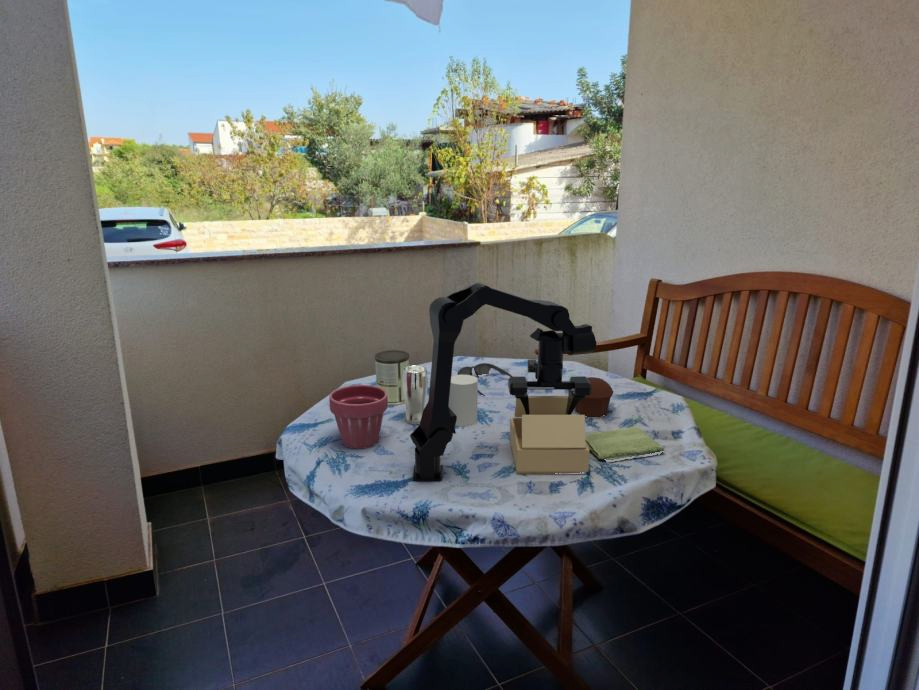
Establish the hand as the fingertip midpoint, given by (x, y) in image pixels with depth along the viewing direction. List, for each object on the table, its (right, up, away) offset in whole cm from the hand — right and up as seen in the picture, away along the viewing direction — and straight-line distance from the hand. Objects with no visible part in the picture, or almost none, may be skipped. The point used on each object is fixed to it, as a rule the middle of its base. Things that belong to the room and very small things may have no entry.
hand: (547, 419), depth 131 cm
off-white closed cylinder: (-20, -3, +22) cm, 30 cm away
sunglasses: (-12, +4, +50) cm, 51 cm away
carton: (0, -9, +2) cm, 9 cm away
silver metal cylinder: (-33, -3, +22) cm, 40 cm away
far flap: (0, +2, +6) cm, 6 cm away
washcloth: (+19, -8, +6) cm, 22 cm away
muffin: (+17, -2, +28) cm, 33 cm away
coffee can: (-41, +1, +37) cm, 55 cm away
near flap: (0, -2, -8) cm, 8 cm away
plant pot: (-46, -7, +9) cm, 47 cm away
